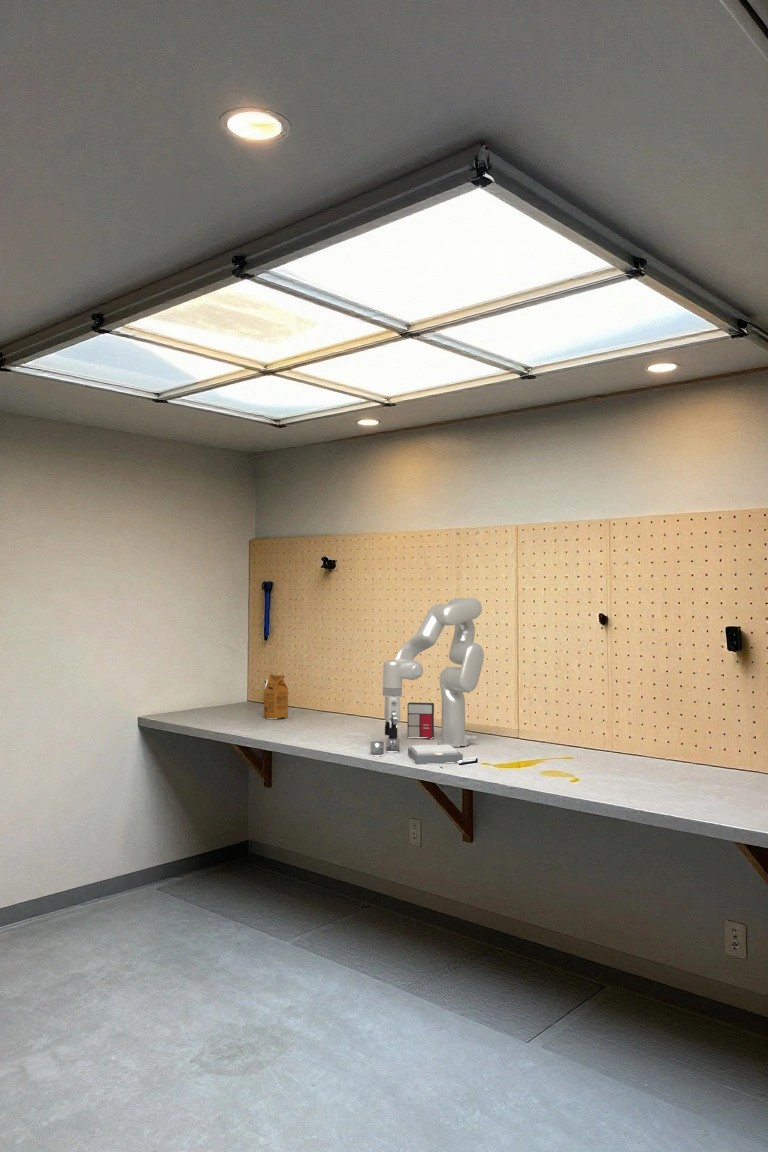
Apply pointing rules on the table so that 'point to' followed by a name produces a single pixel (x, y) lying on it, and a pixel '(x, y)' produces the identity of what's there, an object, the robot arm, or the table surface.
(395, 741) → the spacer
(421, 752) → the block
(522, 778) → the table surface
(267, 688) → the coffee package
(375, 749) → the spacer
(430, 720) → the grey and red box
